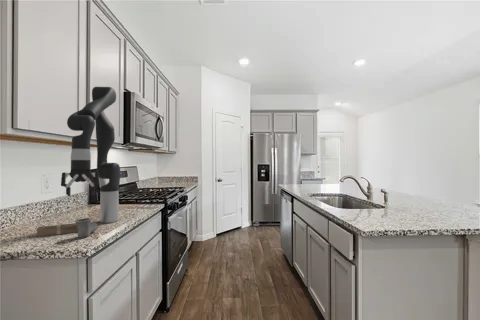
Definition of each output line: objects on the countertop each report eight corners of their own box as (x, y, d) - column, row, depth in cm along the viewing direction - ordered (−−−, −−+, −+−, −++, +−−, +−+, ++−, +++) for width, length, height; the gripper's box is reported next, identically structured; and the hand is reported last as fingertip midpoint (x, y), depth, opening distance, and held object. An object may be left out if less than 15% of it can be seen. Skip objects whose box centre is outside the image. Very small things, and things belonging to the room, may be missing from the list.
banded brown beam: (38, 234, 116) (38, 226, 116) (88, 228, 127) (88, 221, 127) (36, 236, 113) (36, 228, 113) (88, 230, 123) (88, 223, 123)
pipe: (100, 231, 122) (100, 215, 122) (85, 239, 109) (85, 221, 109) (87, 231, 122) (87, 215, 122) (70, 239, 109) (70, 221, 109)
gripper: (99, 159, 119) (99, 193, 119) (63, 159, 113) (62, 195, 112) (98, 159, 112) (98, 195, 112) (60, 158, 106) (59, 197, 106)
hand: (80, 195), depth 112 cm, fingers open, 8 cm apart
